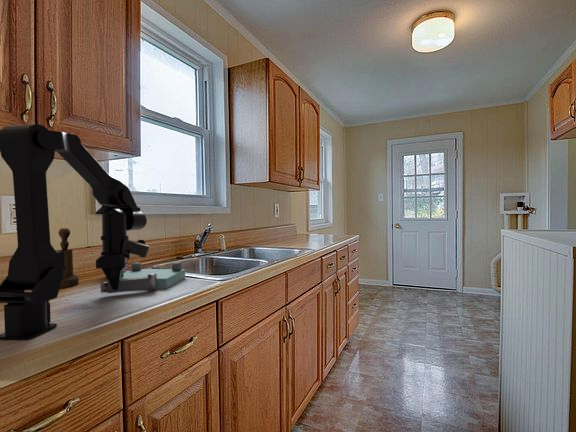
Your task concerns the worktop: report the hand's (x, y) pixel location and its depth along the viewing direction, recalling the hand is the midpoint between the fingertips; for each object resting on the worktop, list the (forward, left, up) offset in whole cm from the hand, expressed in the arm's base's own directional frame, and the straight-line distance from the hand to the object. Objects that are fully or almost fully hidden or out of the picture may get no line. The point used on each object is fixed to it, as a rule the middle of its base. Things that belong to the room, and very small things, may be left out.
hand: (115, 289), depth 82 cm
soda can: (+26, +16, -2) cm, 31 cm away
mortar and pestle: (+12, +24, -2) cm, 27 cm away
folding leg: (+4, -2, -2) cm, 4 cm away
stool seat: (+16, -1, -2) cm, 16 cm away
